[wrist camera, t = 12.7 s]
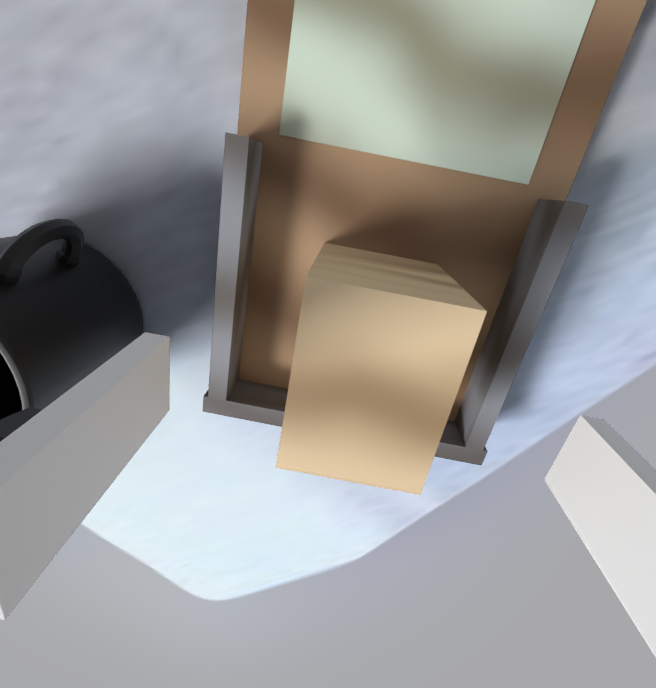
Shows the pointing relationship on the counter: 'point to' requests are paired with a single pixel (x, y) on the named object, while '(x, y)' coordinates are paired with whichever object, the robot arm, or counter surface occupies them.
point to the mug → (58, 314)
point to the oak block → (375, 367)
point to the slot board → (406, 172)
